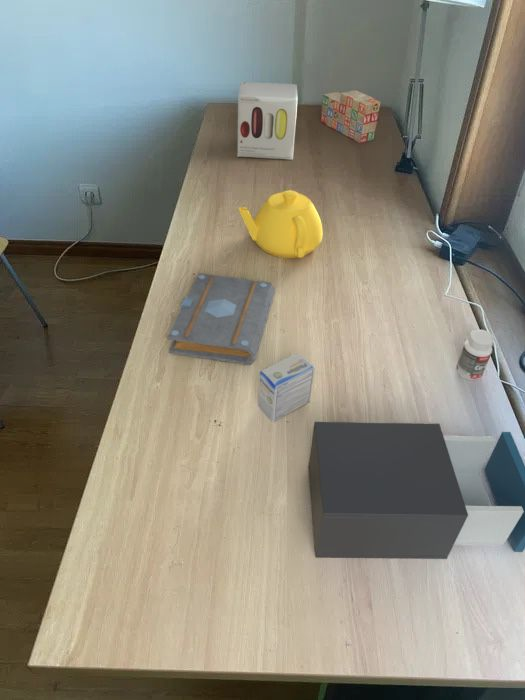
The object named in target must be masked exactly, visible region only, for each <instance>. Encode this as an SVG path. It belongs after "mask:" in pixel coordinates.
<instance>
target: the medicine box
mask: <svg viewBox="0 0 525 700" xmlns="http://www.w3.org/2000/svg"><path fill="white" fill-rule="evenodd" d="M314 374H315V366H314V365H312V363H310V361H308V360H307V359H306V358H305V357H304V356H302V355H301V354H300V353H298V352H296V353H294V354H292V355H290V356H288V357H286V358H284V359H281V360H280V361H278V362H275V363H274V364H271V365H270V366H267V367H266V368H263V369H262V370H260V371H259V381H258V385H259V386H258V407H259V408H260V410H261V411H262V412H263V413H264V414H265V415H266V416H267V417H268V418H269V420H271V422H273V423H275V422H276V421H278V420H280V419H282V418H284V417H286V416H287V415H289V414H292V413H293V412H295V411H296V410H298V409H300V408H301V407H303V406H305V405H307V404H309V403H310V402H311V396H312V388H313V381H314Z"/></svg>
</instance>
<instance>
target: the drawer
mask: <svg viewBox="0 0 525 700" xmlns="http://www.w3.org/2000/svg"><path fill="white" fill-rule="evenodd" d="M443 437H444V440H445V443H446V446H447V449H448V453H449V456H450V459H451V462H452V465H453V468H454V472H455V475H456V478H457V481H458V484H459V488H460V491H461V494H462V497H463V500H464V503H465V507H466V510H467V513H468V517H467V519H466V521H465V523H464V525H463V527H462V529H461V531H460V533H459V535H458V537H457V539H456V541H455V543H454V545H453V546H485V547H486V546H487V547H488V546H489V547H490V546H491V547H493V546H494V547H495V546H496V547H497V546H498V547H503V546H504V545H505V543H506V541H507V540H509V542H510V546H511V549H512V551H513V553H523V552H524V551H525V463H524V460H523V458H522V456H521V453H520V451H519V449H518V447H517V444H516V442H515V439H514V437H513V435H512V432H511V431H501V434H500V435H499V437H498V439H497V442H496V438H495V436H493V435H492V436H489V435H486V436H484V435H482V436H481V435H443ZM494 445H495V446H494ZM492 449H493V450H492ZM488 457H489V458H488ZM487 459H488V460H487ZM485 464H486V465H485ZM482 470H483V471H484V473H485V476H486V479H487V482H488V484H489V488H490V490H491V493H492V496H493V499H494V501H495V504H496V505H492V503H491V500H490V497H489V494H488V492H487V489H486V486H485V483H484V480H483V478H482V475H481V472H482Z"/></svg>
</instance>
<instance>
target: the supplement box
mask: <svg viewBox="0 0 525 700" xmlns="http://www.w3.org/2000/svg"><path fill="white" fill-rule="evenodd" d="M238 90H239V91H238V96H237V97H238V98H237V100H238V101H237V147H236V149H237V150H236V151H237V152H236V156H237V158H239V157H240V158H260V159H273V160H290V161H293V160H294V150H295V137H296V126H297V114H298V113H297V112H298V100H299V99H298V84H297V83H296V84H295V83H278V82H260V81H259V82H258V81H257V82H256V81H255V82H254V81H240V83H239V89H238Z"/></svg>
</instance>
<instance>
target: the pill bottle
mask: <svg viewBox="0 0 525 700" xmlns="http://www.w3.org/2000/svg"><path fill="white" fill-rule="evenodd" d="M494 341H495V337H494V335H493V334H491V333H490V332H489V331H487V330H485V329H473V330H472V331H470V334H469V336H468V338H467V339H466V340H465V342H464V344H463V347H462V349H461V352H460V355H459V358H458V361H457V363H456V367H455V371H456V373H457V374H458V375H459V376H460V377H462V378H463V379H465V380H469V381H477V380H479V379H481V378H482V377H483V376H484V373H485V370H486V367H487V365H488V364H489V363H488V362H489V360H490V358H491V355H492V352H493V345H494Z"/></svg>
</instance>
